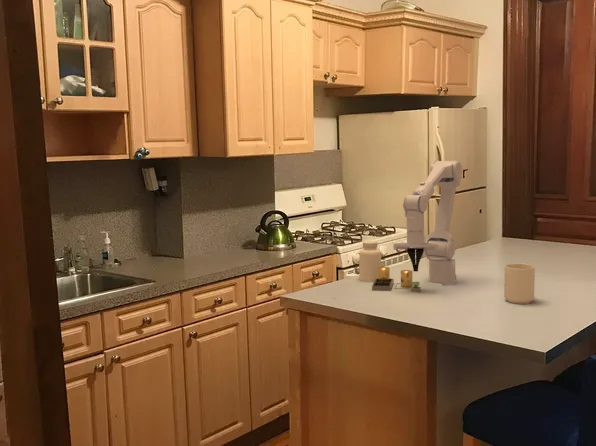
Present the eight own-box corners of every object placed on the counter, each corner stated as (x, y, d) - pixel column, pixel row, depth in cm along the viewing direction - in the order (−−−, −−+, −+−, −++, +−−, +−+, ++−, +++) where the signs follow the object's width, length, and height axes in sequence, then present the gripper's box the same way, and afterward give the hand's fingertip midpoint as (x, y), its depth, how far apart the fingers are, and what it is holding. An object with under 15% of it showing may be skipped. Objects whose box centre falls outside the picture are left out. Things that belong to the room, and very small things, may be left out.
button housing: (420, 292, 216) (420, 286, 215) (420, 294, 213) (420, 288, 212) (411, 292, 216) (411, 286, 216) (411, 294, 213) (411, 288, 213)
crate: (394, 285, 227) (394, 278, 227) (391, 293, 215) (391, 286, 215) (375, 285, 229) (375, 278, 228) (371, 293, 217) (371, 285, 216)
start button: (419, 289, 215) (419, 281, 215) (419, 291, 213) (419, 283, 213) (412, 289, 216) (412, 281, 215) (412, 291, 213) (412, 283, 213)
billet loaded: (390, 283, 226) (390, 266, 225) (389, 285, 222) (389, 269, 222) (378, 283, 227) (378, 266, 226) (377, 285, 223) (377, 268, 222)
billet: (412, 286, 222) (412, 270, 222) (412, 289, 219) (411, 272, 218) (401, 286, 223) (401, 269, 223) (400, 289, 219) (400, 272, 219)
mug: (534, 305, 195) (534, 269, 194) (503, 303, 198) (504, 268, 197) (534, 296, 206) (534, 262, 205) (505, 294, 209) (505, 261, 208)
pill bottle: (380, 284, 229) (380, 243, 227) (358, 284, 231) (357, 243, 229) (382, 279, 237) (381, 240, 235) (360, 279, 239) (359, 240, 237)
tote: (418, 286, 224) (418, 283, 224) (417, 292, 216) (417, 288, 216) (395, 286, 226) (395, 283, 226) (394, 291, 218) (394, 288, 218)
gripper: (392, 232, 210) (392, 272, 211) (437, 232, 206) (437, 273, 208) (394, 229, 216) (394, 268, 218) (437, 229, 213) (438, 269, 215)
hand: (415, 270), depth 213 cm, fingers closed
